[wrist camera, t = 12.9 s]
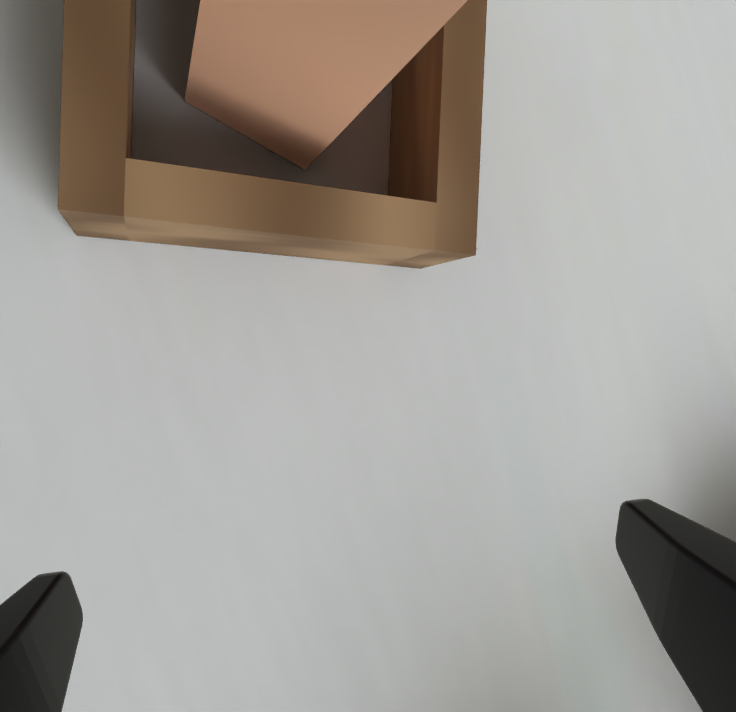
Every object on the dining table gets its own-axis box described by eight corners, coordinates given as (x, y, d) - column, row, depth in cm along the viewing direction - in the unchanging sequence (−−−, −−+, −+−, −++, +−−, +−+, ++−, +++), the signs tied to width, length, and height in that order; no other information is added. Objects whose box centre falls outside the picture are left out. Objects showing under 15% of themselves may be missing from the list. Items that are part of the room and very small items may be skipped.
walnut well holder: (76, 235, 18) (58, 209, 14) (88, -155, 18) (71, -287, 14) (420, 268, 22) (475, 254, 18) (433, -44, 22) (492, -122, 18)
